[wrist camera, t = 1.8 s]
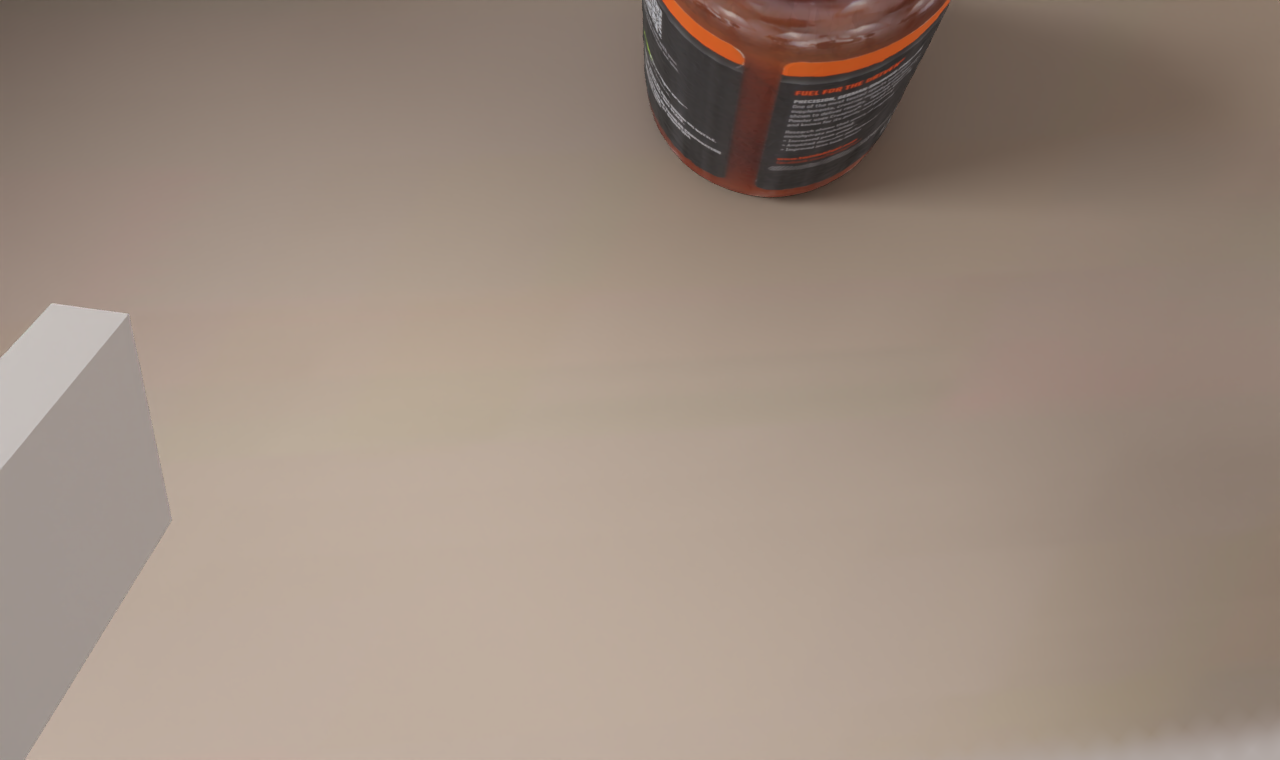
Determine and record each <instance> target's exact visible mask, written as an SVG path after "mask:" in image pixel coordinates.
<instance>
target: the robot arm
mask: <svg viewBox="0 0 1280 760" xmlns="http://www.w3.org/2000/svg"><path fill="white" fill-rule="evenodd" d="M171 521H172V517H171V512H170V508H169V503H168V498H167V493H166V488H165V484H164V479H163V474H162V469H161V464H160V460H159V455H158V450H157V445H156V440H155V436H154V431H153V426H152V421H151V416H150V412H149V407H148V402H147V397H146V392H145V388H144V383H143V378H142V373H141V368H140V364H139V359H138V354H137V349H136V344H135V340H134V335H133V330H132V325H131V320H130V316H129V314H128V313H120V312H113V311H106V310H99V309H91V308H84V307H77V306H69V305H62V304H55V303H51V304H50V305H49V306H48V308H47V309H46V310H45V311H44V312H43V313H42V314H41V315H40V316H39V317H38V318H37V319H36V320H35V321H34V323H33V324H32V325H31V326H30V327H29V328H28V329H27V330H26V331H25V332H24V333H23V334H22V335H21V337H20V338H19V339H18V340H17V341H16V342H15V343H14V344H13V345H12V346H11V347H10V348H9V349H8V350H7V352H6V353H5V354H4V355H3V356H2V357H1V358H0V760H25V758H26V757H27V755H28V753H29V752H30V750H31V749H32V747H33V745H34V744H35V742H36V740H37V739H38V737H39V736H40V734H41V732H42V731H43V729H44V727H45V726H46V724H47V723H48V721H49V719H50V718H51V716H52V714H53V713H54V711H55V710H56V708H57V706H58V705H59V703H60V701H61V700H62V698H63V697H64V695H65V693H66V692H67V690H68V688H69V687H70V685H71V684H72V682H73V680H74V679H75V677H76V675H77V674H78V672H79V671H80V669H81V667H82V666H83V664H84V662H85V661H86V659H87V658H88V656H89V654H90V653H91V651H92V649H93V648H94V646H95V645H96V643H97V641H98V640H99V638H100V636H101V635H102V633H103V632H104V630H105V628H106V627H107V625H108V623H109V622H110V620H111V619H112V617H113V615H114V614H115V612H116V610H117V609H118V607H119V606H120V604H121V602H122V601H123V599H124V597H125V596H126V594H127V593H128V591H129V589H130V588H131V586H132V584H133V583H134V581H135V580H136V578H137V576H138V575H139V573H140V571H141V570H142V568H143V567H144V565H145V563H146V562H147V560H148V558H149V557H150V555H151V554H152V552H153V550H154V549H155V547H156V545H157V544H158V542H159V541H160V539H161V537H162V536H163V534H164V533H165V531H166V529H167V528H168V526H169V524H170V523H171Z"/></svg>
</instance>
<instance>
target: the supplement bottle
mask: <svg viewBox="0 0 1280 760" xmlns="http://www.w3.org/2000/svg"><path fill="white" fill-rule="evenodd" d="M950 1H951V0H642V11H643V40H644V62H645V78H646V85H647V93H648V97H649V102H650V107H651V110H652V112H653V116H654V119H655V121H656V123H657V126H658V128H659V130H660V132H661V134H662V135H663V137H664V138H665V140H666V141H667V143H668V145H669V146H670V148H671V149H672V150H673V152H674V153H676V154H677V156H678V157H679V158H680V159H681V160H682V162H683V163H685V164H686V165H687V166H688V167H689V168H690V169H692V170H693V171H694V172H696V173H697V174H699V175H700V176H702V177H703V178H705V179H707V180H709V181H710V182H712V183H714V184H717V185H719V186H721V187H724V188H727V189H729V190H732V191H735V192H739V193H743V194H747V195H754V196H761V197H781V196H791V195H795V194H800V193H804V192H808V191H811V190H814V189H817V188H819V187H821V186H824V185H826V184H828V183H830V182H832V181H834V180H835V179H837V178H839V177H840V176H842V175H844V174H845V173H847V172H848V171H849V170H851V169H852V168H853V167H854V166H856V165H857V164H858V163H859V162H860V161H861V159H862V158H863V157H864V156H865V155H866V154H867V153H868V152H869V151H870V149H871V148H872V147H873V145H874V144H875V142H876V141H877V140H878V139H879V137H880V136H881V135H882V133H883V131H884V130H885V128H886V126H887V124H888V122H889V120H890V118H891V116H892V114H893V113H894V111H895V109H896V107H897V105H898V103H899V101H900V100H901V97H902V95H903V93H904V91H905V89H906V87H907V85H908V83H909V81H910V79H911V77H912V76H913V74H914V72H915V70H916V68H917V66H918V64H919V62H920V60H921V59H922V57H923V55H924V53H925V51H926V49H927V47H928V45H929V43H930V42H931V39H932V37H933V35H934V33H935V31H936V29H937V28H938V26H939V23H940V21H941V19H942V17H943V15H944V13H945V11H946V9H947V7H948V5H949V3H950Z"/></svg>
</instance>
